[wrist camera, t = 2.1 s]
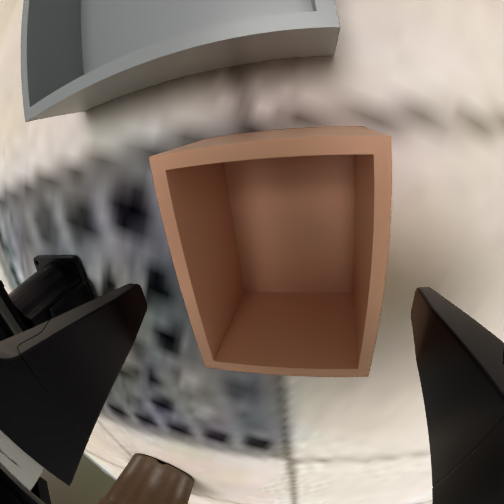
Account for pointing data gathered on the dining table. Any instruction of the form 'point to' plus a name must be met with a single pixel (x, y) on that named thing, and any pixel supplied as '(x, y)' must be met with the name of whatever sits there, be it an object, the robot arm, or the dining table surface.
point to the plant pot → (149, 484)
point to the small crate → (281, 246)
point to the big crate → (155, 44)
